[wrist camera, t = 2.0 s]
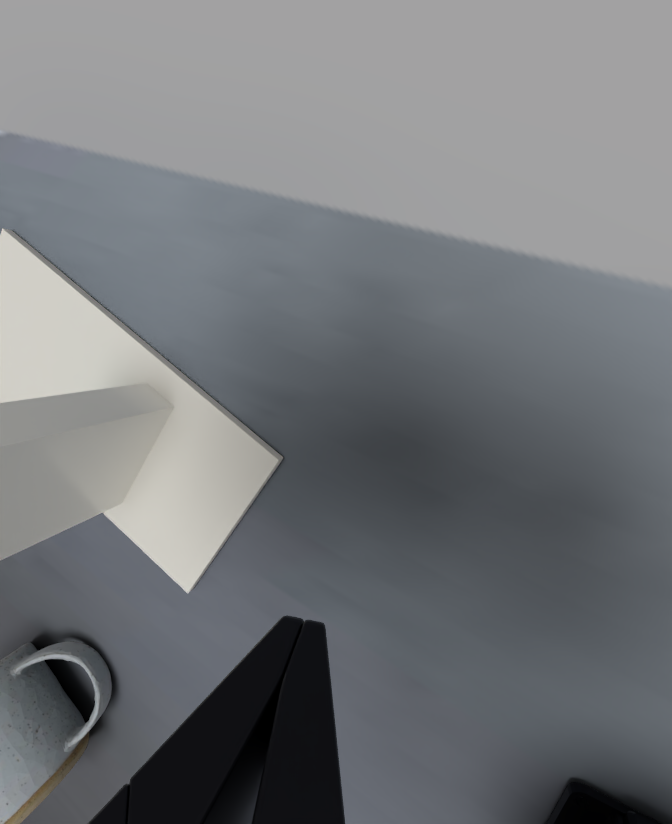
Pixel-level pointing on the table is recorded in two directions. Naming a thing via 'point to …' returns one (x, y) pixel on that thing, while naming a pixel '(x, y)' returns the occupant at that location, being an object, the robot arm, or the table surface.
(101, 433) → the tile
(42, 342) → the mat
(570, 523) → the table surface
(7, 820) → the ceramic mug
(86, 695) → the table surface
